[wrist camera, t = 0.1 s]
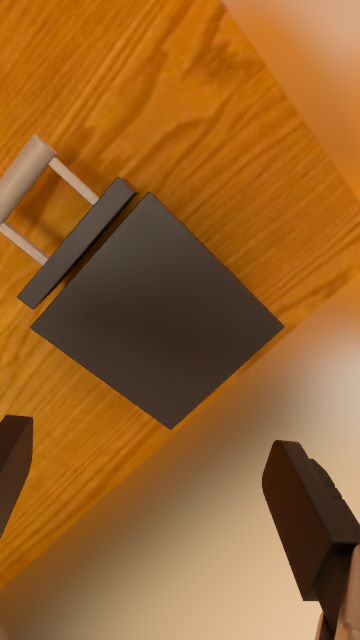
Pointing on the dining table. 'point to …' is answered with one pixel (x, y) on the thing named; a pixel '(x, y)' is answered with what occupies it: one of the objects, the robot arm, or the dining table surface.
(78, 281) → the cabinet
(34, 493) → the dining table surface
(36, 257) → the drawer
